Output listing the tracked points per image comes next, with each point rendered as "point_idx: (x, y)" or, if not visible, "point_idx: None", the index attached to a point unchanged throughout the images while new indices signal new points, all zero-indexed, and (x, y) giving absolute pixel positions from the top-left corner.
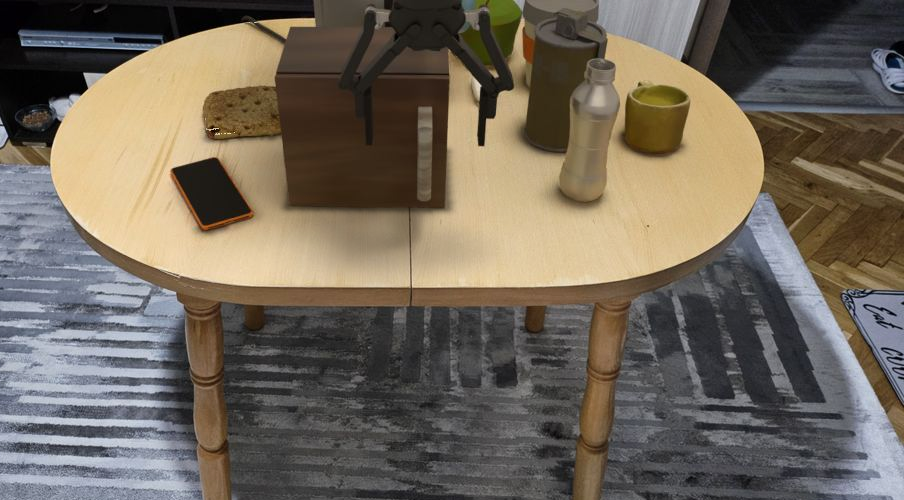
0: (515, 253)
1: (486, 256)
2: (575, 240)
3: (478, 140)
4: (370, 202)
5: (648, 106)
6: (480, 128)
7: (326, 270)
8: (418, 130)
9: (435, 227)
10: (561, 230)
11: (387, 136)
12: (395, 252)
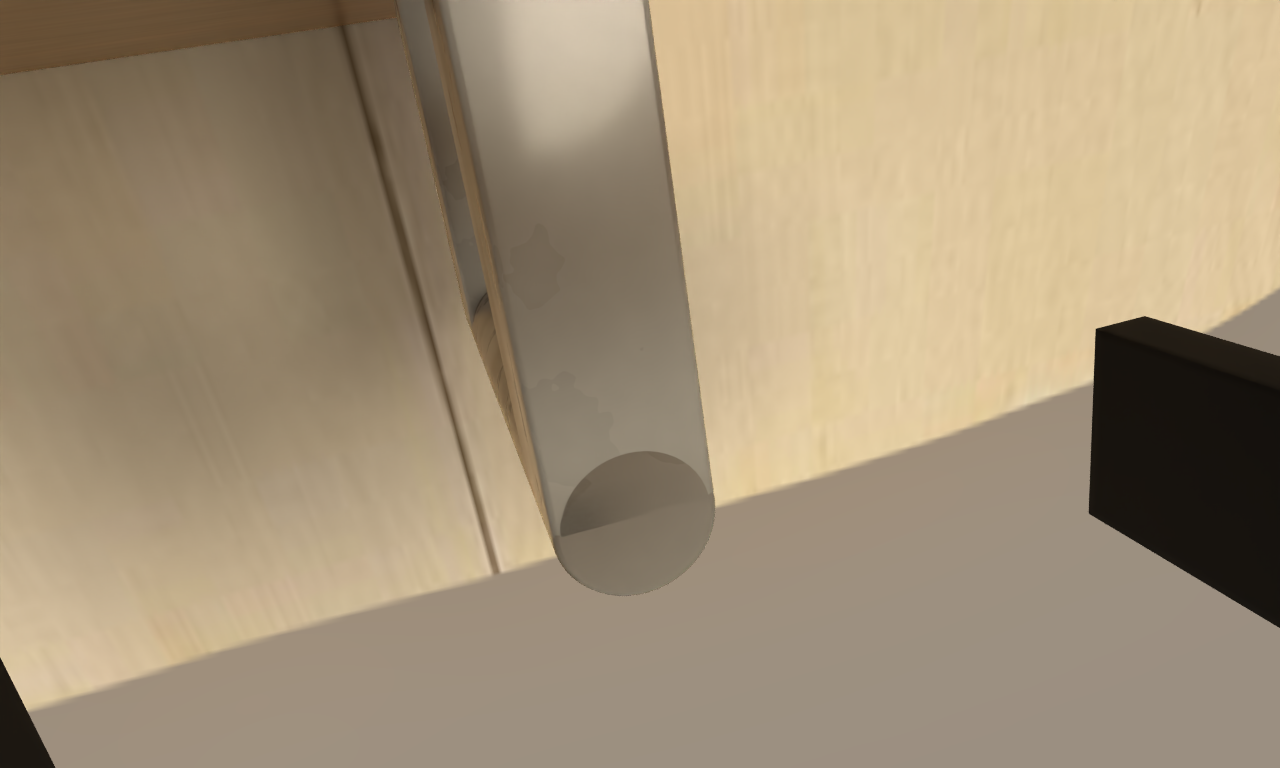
0: (884, 295)
1: (773, 343)
2: (1109, 153)
3: (1130, 530)
4: (84, 61)
5: None
6: (1257, 605)
7: (91, 623)
8: (565, 553)
9: None
10: (1069, 91)
11: (49, 10)
12: (378, 418)
